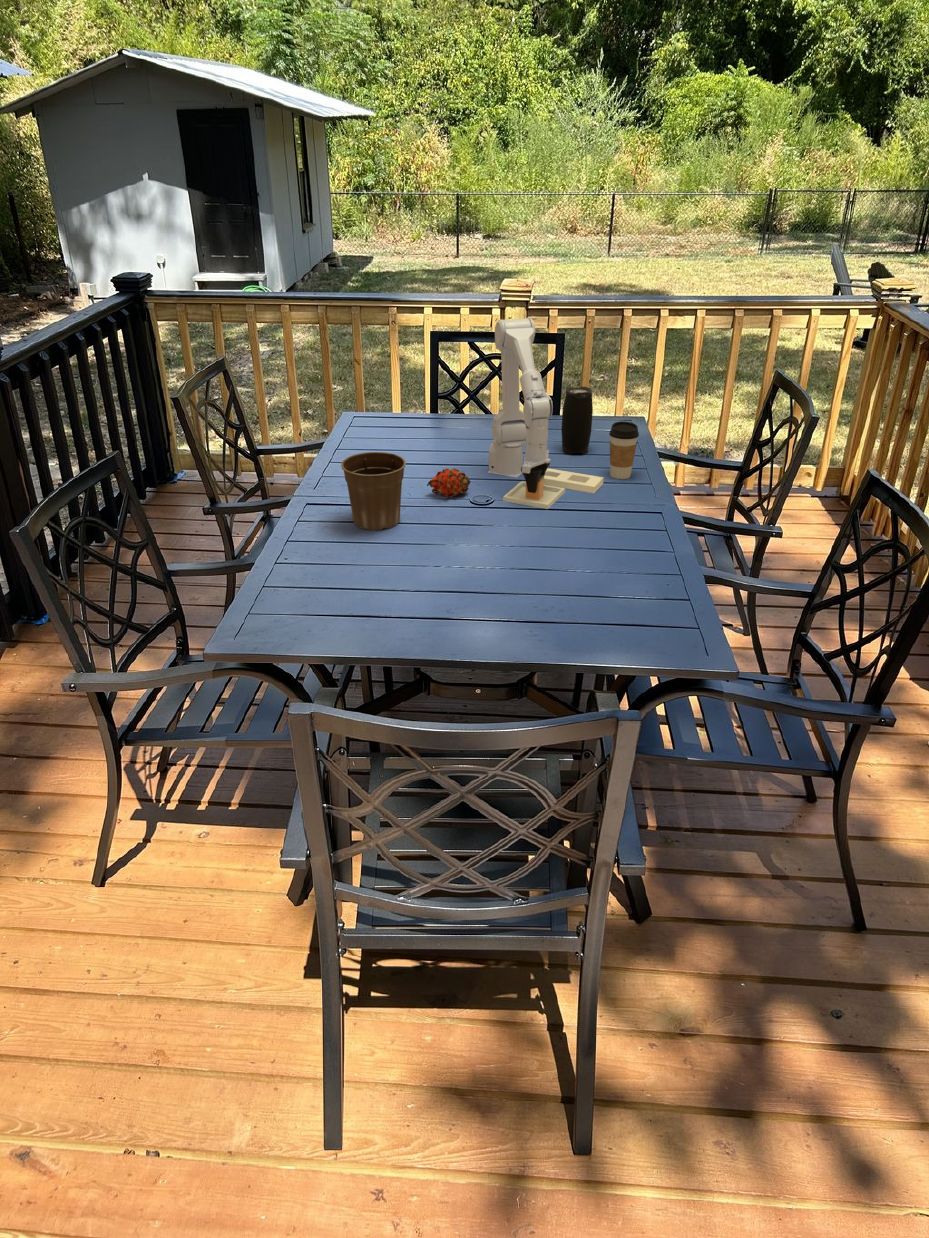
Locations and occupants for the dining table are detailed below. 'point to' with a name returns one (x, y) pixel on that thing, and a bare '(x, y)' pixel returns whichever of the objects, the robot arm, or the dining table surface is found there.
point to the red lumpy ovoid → (449, 483)
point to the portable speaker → (577, 420)
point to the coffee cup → (622, 448)
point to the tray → (545, 502)
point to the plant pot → (374, 488)
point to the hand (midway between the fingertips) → (534, 489)
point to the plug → (539, 489)
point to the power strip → (572, 480)
